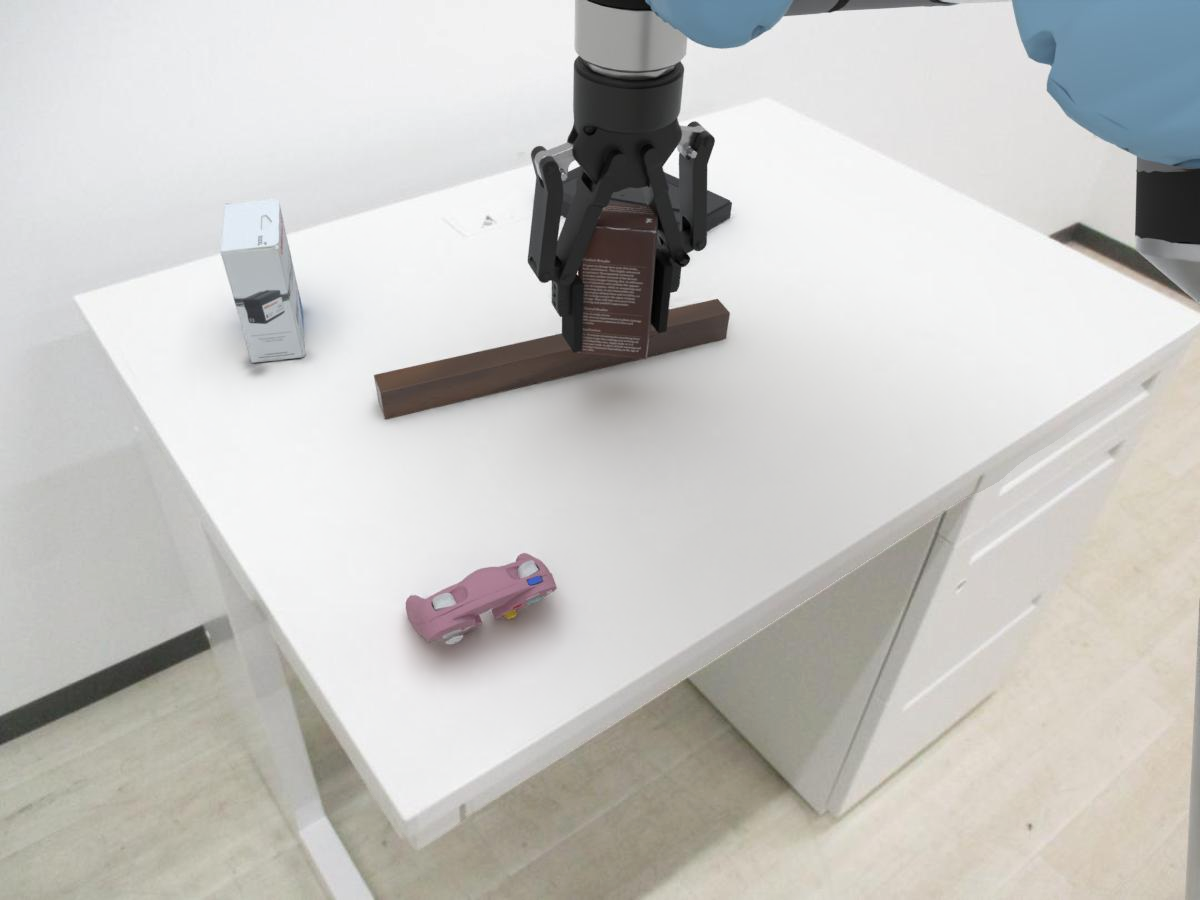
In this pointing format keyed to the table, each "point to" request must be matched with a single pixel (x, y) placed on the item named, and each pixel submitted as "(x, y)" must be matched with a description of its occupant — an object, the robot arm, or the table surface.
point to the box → (619, 281)
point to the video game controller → (480, 598)
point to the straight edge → (532, 363)
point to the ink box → (263, 279)
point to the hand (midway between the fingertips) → (614, 332)
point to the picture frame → (715, 204)
